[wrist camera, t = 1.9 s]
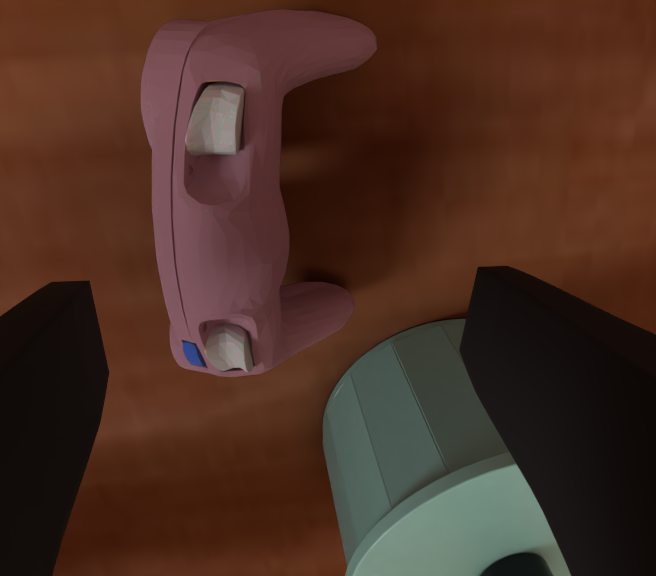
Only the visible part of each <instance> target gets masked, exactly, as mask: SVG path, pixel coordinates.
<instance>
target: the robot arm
mask: <svg viewBox="0 0 656 576" xmlns="http://www.w3.org/2000/svg"><path fill="white" fill-rule="evenodd" d="M459 351H460V354H461V357H462V359H463V362H464V365H465V368H466V370H467V373H468V375H469V378H470V380H471V383H472V385H473V387H474V390H475V392H476V394H477V396H478V398H479V400H480V401H481V403H482V405H483V407H484V409H485V410H486V412H487V414H488V416H489V417H490V419H491V421H492V423H493V424H494V426H495V428H496V430H497V431H498V433H499V435H500V436H501V438H502V440H503V442H504V443H505V445H506V447H507V449H508V450H509V452H510V454H511V455H512V457H513V459H514V461H515V462H516V464H517V466H518V468H519V469H520V471H521V473H522V474H523V476H524V478H525V480H526V481H527V483H528V485H529V486H530V488H531V490H532V492H533V494H534V496H535V498H536V500H537V502H538V503H539V505H540V507H541V509H542V511H543V513H544V515H545V518H546V520H547V522H548V524H549V527H550V529H551V531H552V533H553V535H554V538H555V540H556V542H557V544H558V547H559V549H560V551H561V553H562V556H563V558H564V560H565V562H566V565H567V567H568V569H569V572H570V574H571V576H656V335H655V334H653V333H651V332H649V331H646V330H644V329H642V328H640V327H637V326H635V325H633V324H631V323H629V322H626V321H624V320H622V319H620V318H618V317H616V316H614V315H612V314H610V313H607V312H605V311H603V310H601V309H599V308H597V307H595V306H593V305H591V304H589V303H587V302H585V301H583V300H581V299H579V298H577V297H575V296H573V295H571V294H569V293H567V292H565V291H563V290H561V289H559V288H557V287H555V286H553V285H551V284H548V283H546V282H544V281H542V280H540V279H538V278H536V277H534V276H531V275H529V274H527V273H525V272H522V271H520V270H517V269H514V268H511V267H509V266H492V267H478V269H477V274H476V278H475V283H474V287H473V291H472V296H471V300H470V304H469V309H468V313H467V318H466V322H465V326H464V331H463V335H462V339H461V344H460V348H459ZM108 376H109V370H108V365H107V360H106V356H105V351H104V346H103V342H102V337H101V332H100V328H99V323H98V318H97V314H96V309H95V304H94V300H93V295H92V290H91V286H90V281H66V282H51V283H49V284H48V285H46V286H44V287H42V288H41V289H39V290H38V291H36V292H35V293H33V294H32V295H30V296H29V297H27V298H26V299H24V300H23V301H22V302H20V303H19V304H17V305H16V306H14V307H13V308H12V309H10V310H9V311H7V312H6V313H5V314H3V315H2V316H0V576H52V574H53V570H54V566H55V563H56V559H57V556H58V552H59V549H60V545H61V541H62V538H63V535H64V532H65V529H66V526H67V523H68V520H69V517H70V514H71V511H72V508H73V505H74V502H75V499H76V496H77V493H78V490H79V487H80V484H81V481H82V478H83V475H84V472H85V468H86V465H87V462H88V459H89V456H90V453H91V450H92V447H93V444H94V441H95V437H96V434H97V431H98V428H99V425H100V421H101V416H102V411H103V405H104V400H105V394H106V388H107V382H108Z"/></svg>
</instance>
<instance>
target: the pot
mask: <svg viewBox="0 0 656 576" xmlns="http://www.w3.org/2000/svg"><path fill="white" fill-rule="evenodd" d="M465 322H466V319H452V320H443V321H437V322H432V323H427V324H424V325H421V326H417V327H414V328H411V329H409V330H406V331H404V332H401V333H399V334H396V335H395V336H393V337H391V338H389V339H387V340H385V341H383V342H382V343H380V344H379V345H377V346H376V347H374V348H373V349H371V350H370V351H368V352H367V353H366V354H364V355H363V356H362V357H361V358H360V359H359V360H357V361H356V362H355V363H354V364H353V365H352V366H351V367H350V368H349V369H348V370H347V372H346V373H345V374H344V375H343V377H342V378H341V379H340V381H339V382H338V383H337V385H336V386H335V388H334V390H333V392H332V394H331V395H330V398H329V400H328V403H327V405H326V408H325V412H324V417H323V431H322V432H323V443H322V444H323V449H324V454H325V459H326V464H327V469H328V474H329V479H330V484H331V489H332V494H333V499H334V504H335V509H336V514H337V519H338V524H339V529H340V534H341V539H342V544H343V549H344V554H345V559H346V564H347V567H348V564H349V562H350V560H351V558H352V556H353V554H354V552H355V550H356V549H357V547H358V546H359V544H360V543H361V541H362V540H363V539H364V537H365V536H366V535H367V533H368V532H369V531H370V530H371V529H372V528H373V527H374V526H375V525H376V524H377V523H378V522H379V520H381V519H382V518H383V517H384V516H385V515H386V514H387V513H389V512H390V511H391V510H392V509H393V508H394V507H395V506H397V505H398V504H399V503H401V502H402V501H404V500H405V499H406V498H408V497H409V496H411V495H412V494H413V493H415V492H416V491H418V490H420V489H421V488H423V487H425V486H426V485H428V484H430V483H432V482H433V481H435V480H437V479H439V478H441V477H443V476H445V475H447V474H449V473H451V472H453V471H455V470H457V469H459V468H462V467H464V466H467V465H469V464H472V463H475V462H477V461H480V460H482V459H485V458H489V457H492V456H495V455H499V454H502V453H505V452H509V450H508V449H507V447H506V445H505V443H504V442H503V440H502V438H501V436H500V435H499V433H498V431H497V430H496V428H495V426H494V424H493V423H492V421H491V419H490V417H489V416H488V414H487V412H486V410H485V409H484V407H483V405H482V403H481V401H480V400H479V398H478V396H477V394H476V392H475V390H474V387H473V385H472V383H471V380H470V378H469V375H468V373H467V370H466V368H465V365H464V362H463V359H462V357H461V354H460V351H459V348H460V344H461V339H462V335H463V331H464V326H465Z"/></svg>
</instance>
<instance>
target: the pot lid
mask: <svg viewBox="0 0 656 576" xmlns="http://www.w3.org/2000/svg"><path fill="white" fill-rule="evenodd" d="M345 576H571V574H570V572H569V569H568V567H567V565H566V562H565V560H564V558H563V556H562V553H561V551H560V549H559V547H558V544H557V542H556V540H555V538H554V535H553V533H552V531H551V529H550V527H549V524H548V522H547V520H546V518H545V515H544V513H543V511H542V509H541V507H540V505H539V503H538V502H537V500H536V498H535V496H534V494H533V492H532V490H531V488H530V486H529V485H528V483H527V481H526V480H525V478H524V476H523V474H522V473H521V471H520V469H519V468H518V466H517V464H516V462H515V461H514V459H513V457H512V455H511V454H510V452H505V453H502V454H499V455H495V456H492V457H489V458H485V459H482V460H480V461H477V462H475V463H472V464H469V465H467V466H464V467H462V468H459V469H457V470H455V471H453V472H451V473H449V474H447V475H445V476H443V477H441V478H439V479H437V480H435V481H433V482H432V483H430V484H428V485H426V486H425V487H423V488H421V489H420V490H418V491H416V492H415V493H413V494H412V495H411V496H409V497H408V498H406V499H405V500H404V501H402V502H401V503H399V504H398V505H397V506H395V507H394V508H393V509H392V510H391V511H390V512H389V513H387V514H386V515H385V516H384V517H383V518H382V519H381V520H379V522H378V523H377V524H376V525H375V526H374V527H373V528H372V529H371V530H370V531H369V532H368V533H367V535H366V536H365V537H364V539H363V540H362V541H361V543H360V544H359V546H358V547H357V549H356V550H355V552H354V554H353V556H352V558H351V560H350V562H349V564H348V567H347V571H346V574H345Z"/></svg>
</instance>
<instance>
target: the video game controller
mask: <svg viewBox="0 0 656 576" xmlns="http://www.w3.org/2000/svg"><path fill="white" fill-rule="evenodd" d="M376 49H377V38H376V36H375V35H374V34H373V32H372V31H371V29H369V28H368V27H366V26H365V25H363V24H362V23H360V22H357V21H355V20H352V19H350V18H346V17H342V16H337V15H333V14H330V13H324V12H319V11H299V10H287V9H278V10H270V11H262V12H255V13H250V14H245V15H239V16H234V17H228V18H223V19H217V20H212V21H196V20H183V19H176V20H171V21H168V22H166V23H164V25H163V26H162V27H161V28H160V29H159V30H158V31H157V32H156V34H155V36H154V38H153V39H152V42H151V45H150V47H149V50H148V52H147V56H146V61H145V65H144V69H143V74H142V78H141V112H142V117H143V122H144V126H145V130H146V134H147V137H148V141H149V144H150V146H151V148H152V214H153V225H154V236H155V247H156V258H157V264H158V269H159V274H160V279H161V285H162V290H163V295H164V299H165V303H166V307H167V311H168V315H169V318H170V321H171V324H170V346H171V350H172V354H173V357H174V358H175V360H176V362H177V363H178V365H179V366H181V367H183V368H184V369H189V370H194V371H199V372H204V373H209V374H214V375H216V376H224V377H237V376H246V375H255V374H261V373H264V372H267V371H269V370H271V369H272V368H274V367H276V366H277V365H279V364H280V363H282V362H283V361H285V360H286V359H288V358H290V357H291V356H293V355H294V354H296V353H297V352H299V351H301V350H303V349H305V348H307V347H309V346H311V345H313V344H315V343H317V342H318V341H320V340H322V339H324V338H326V337H328V336H329V335H331V334H333V333H334V332H336V331H338V330H339V329H341V328H342V327H343V326H344V325H345V324H346V322H347V321H348V320H349V319H350V317H351V316H352V313H353V310H354V306H355V304H354V298H353V296H352V295H351V293H349V292H348V291H347V290H345V289H344V288H342V287H340V286H338V285H336V284H330V283H325V282H300V283H294V284H289V285H284V286H280V285H281V283H282V280H283V277H284V275H285V272H286V267H287V262H288V257H289V240H290V234H289V228H288V223H287V218H286V212H285V207H284V203H283V199H282V195H281V191H280V187H279V181H280V159H281V123H282V104H283V98H284V96H285V95H286V94H287V93H289V92H290V91H291V90H292V89H294V88H296V87H299V86H301V85H303V84H305V83H308V82H310V81H312V80H315V79H319V78H323V77H327V76H331V75H334V74H338V73H342V72H346V71H350V70H354V69H355V68H357V67H358V66H360V65H361V64H363V63H364V62H366V61H367V60H368V59H369V58H370V57H371V56H372V55H373V54H374V52H375V51H376Z"/></svg>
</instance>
